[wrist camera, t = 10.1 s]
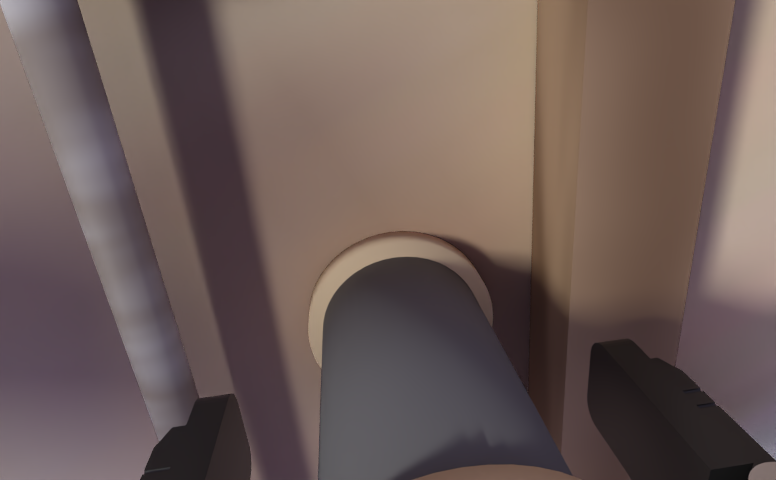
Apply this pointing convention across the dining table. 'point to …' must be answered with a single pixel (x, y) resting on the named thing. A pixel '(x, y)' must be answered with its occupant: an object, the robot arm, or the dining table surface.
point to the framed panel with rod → (550, 194)
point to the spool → (419, 371)
